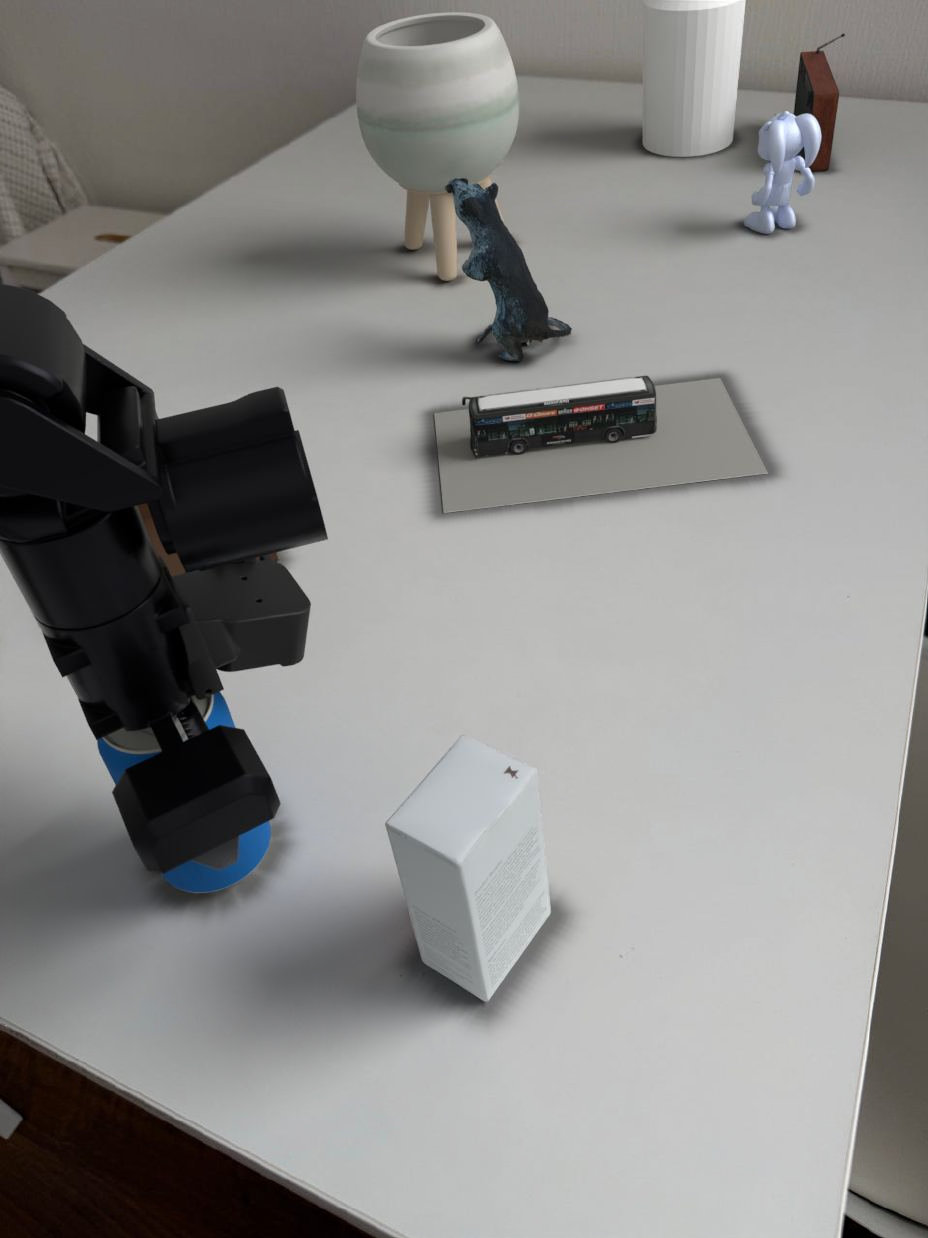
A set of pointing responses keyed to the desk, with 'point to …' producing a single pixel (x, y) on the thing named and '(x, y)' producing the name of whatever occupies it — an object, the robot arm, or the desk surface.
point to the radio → (818, 100)
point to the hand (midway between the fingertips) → (199, 803)
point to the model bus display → (589, 441)
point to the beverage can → (142, 744)
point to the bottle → (690, 74)
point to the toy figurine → (783, 168)
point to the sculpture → (502, 272)
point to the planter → (437, 114)
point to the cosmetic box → (473, 864)
